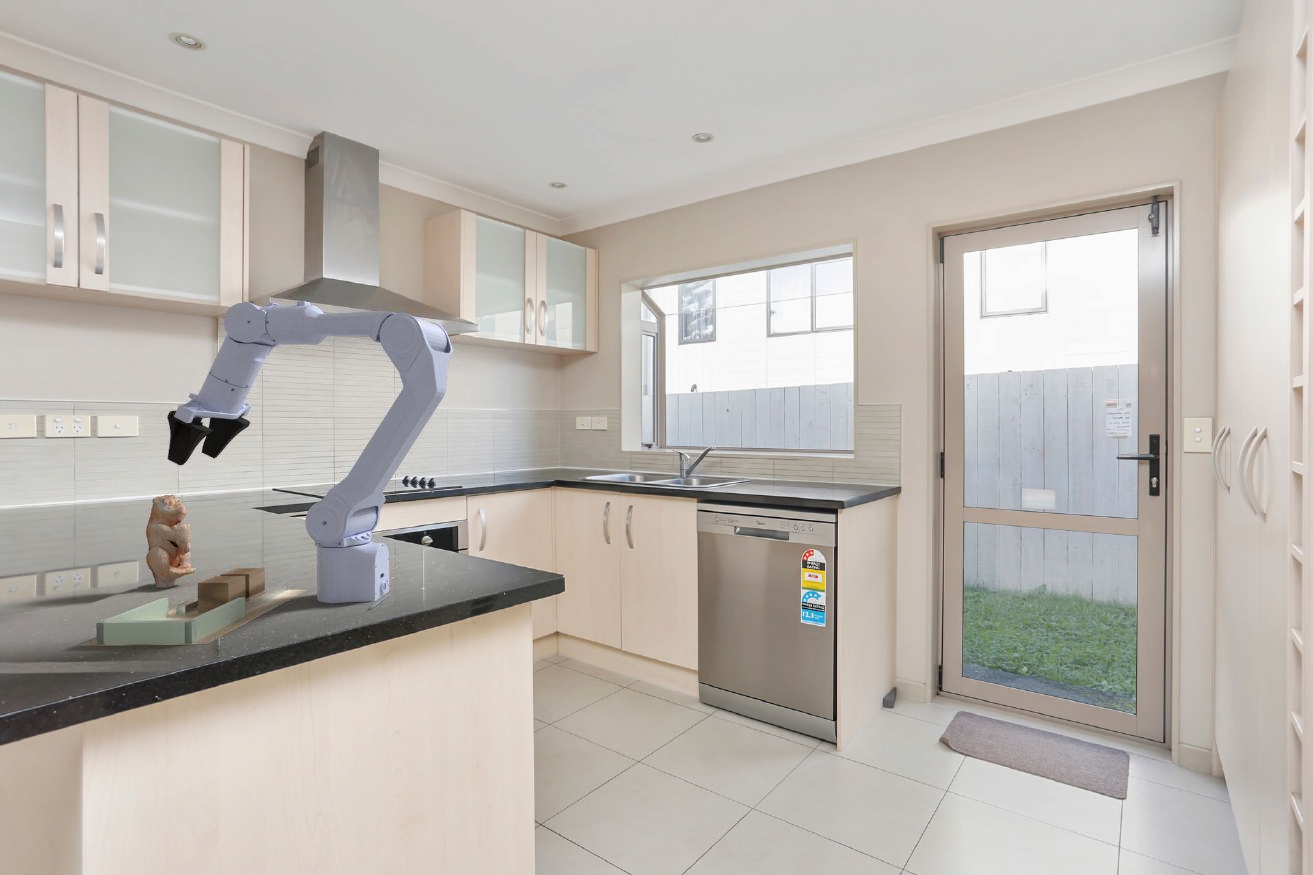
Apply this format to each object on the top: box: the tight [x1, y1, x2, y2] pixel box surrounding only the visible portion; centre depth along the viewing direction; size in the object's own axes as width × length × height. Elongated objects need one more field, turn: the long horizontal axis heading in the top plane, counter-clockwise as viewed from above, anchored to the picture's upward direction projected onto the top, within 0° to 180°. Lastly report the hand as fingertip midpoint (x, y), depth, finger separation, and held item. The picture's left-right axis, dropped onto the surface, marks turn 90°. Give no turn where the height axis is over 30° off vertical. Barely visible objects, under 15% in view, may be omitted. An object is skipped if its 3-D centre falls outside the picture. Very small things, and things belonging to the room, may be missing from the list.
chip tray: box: [95, 597, 245, 646], centre depth 82 cm, size 11×11×2 cm
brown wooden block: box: [219, 567, 266, 599], centre depth 96 cm, size 4×4×4 cm
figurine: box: [145, 494, 197, 589], centre depth 104 cm, size 6×8×15 cm
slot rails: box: [175, 581, 291, 615], centre depth 94 cm, size 8×13×1 cm, turn 3°
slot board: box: [79, 589, 309, 647], centre depth 88 cm, size 14×25×1 cm, turn 3°
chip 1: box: [197, 575, 245, 612], centre depth 91 cm, size 4×4×4 cm
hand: (192, 458), depth 100 cm, fingers open, 7 cm apart
